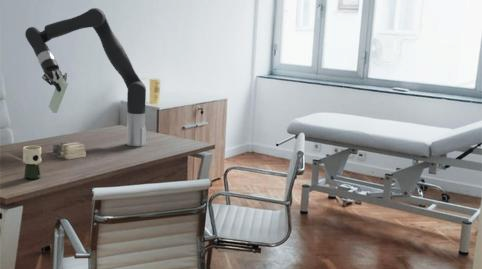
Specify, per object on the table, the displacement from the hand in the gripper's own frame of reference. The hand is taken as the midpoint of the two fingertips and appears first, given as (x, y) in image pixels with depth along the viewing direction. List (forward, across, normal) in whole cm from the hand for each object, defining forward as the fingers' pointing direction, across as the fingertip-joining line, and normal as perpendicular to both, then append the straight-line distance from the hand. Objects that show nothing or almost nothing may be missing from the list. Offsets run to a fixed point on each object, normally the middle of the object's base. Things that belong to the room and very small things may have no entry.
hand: (62, 90), depth 283 cm
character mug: (+44, -36, -1) cm, 56 cm away
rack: (+28, -4, +14) cm, 32 cm away
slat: (+2, 0, +13) cm, 13 cm away
